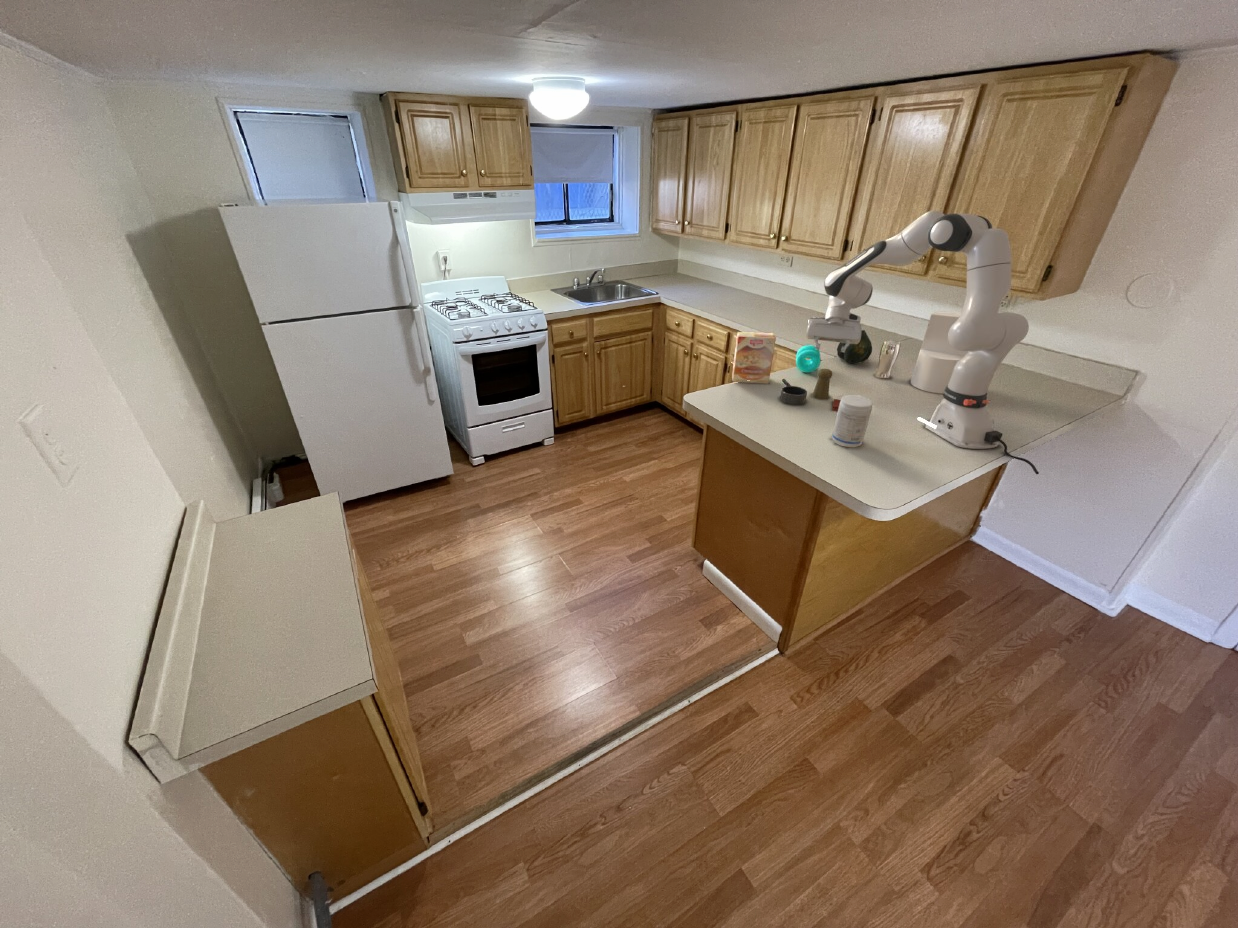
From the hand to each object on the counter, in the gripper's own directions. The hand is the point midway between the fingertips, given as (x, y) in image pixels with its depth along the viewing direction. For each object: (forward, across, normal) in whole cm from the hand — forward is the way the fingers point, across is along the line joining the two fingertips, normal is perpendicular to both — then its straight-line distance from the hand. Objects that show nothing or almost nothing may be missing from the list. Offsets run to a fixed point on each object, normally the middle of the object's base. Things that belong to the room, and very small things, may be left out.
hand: (830, 350), depth 200 cm
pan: (+24, -10, -2) cm, 26 cm away
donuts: (-2, -8, +25) cm, 26 cm away
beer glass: (-5, +23, +27) cm, 36 cm away
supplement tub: (+44, +10, -22) cm, 50 cm away
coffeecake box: (+13, -29, +9) cm, 33 cm away
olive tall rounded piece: (+18, 0, +4) cm, 19 cm away
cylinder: (-3, +42, +25) cm, 49 cm away
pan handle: (+16, -14, +2) cm, 21 cm away
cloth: (+24, +8, -2) cm, 25 cm away
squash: (-16, +11, +38) cm, 43 cm away
